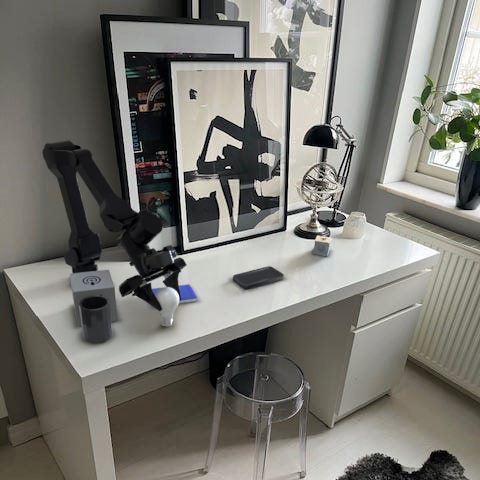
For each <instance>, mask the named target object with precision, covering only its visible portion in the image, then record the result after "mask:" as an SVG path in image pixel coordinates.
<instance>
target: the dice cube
mask: <svg viewBox="0 0 480 480" xmlns="http://www.w3.org/2000/svg"><path fill="white" fill-rule="evenodd" d="M331 242H332V237H329V236H323V235H319V234H318V235H316V237H315V240H314V244H313V245H314V246H313V251H312V252H313V253H312V254H313V255H315V256H316V255H317V256H321V257H328V256H329V254H330V250H331V244H332V243H331Z"/></svg>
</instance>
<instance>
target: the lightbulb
mask: <svg viewBox="0 0 480 480" xmlns="http://www.w3.org/2000/svg"><path fill="white" fill-rule="evenodd" d="M162 287H163V286H162ZM162 287H159V288H160V289H159V290H158V291H157V292H156V293H155V296H156V298H157V300H158V301H159V303H160V305H161V307H162V310H161V311H159V313H160V316H161V325H162V326H164V327H170V326H172V325H173V316H174V313H175V310H177V308H178V306H179V304H180V303H179V295H178V293H177V291H176V290H174V289H173V288H171V287H166V286H164V287H163V288H162Z"/></svg>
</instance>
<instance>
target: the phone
mask: <svg viewBox="0 0 480 480" xmlns="http://www.w3.org/2000/svg"><path fill="white" fill-rule="evenodd" d="M284 277H285V274H284V273H282V272H281V271H279V270H278V269H276V268H274V267H273V266H270V265H269V266H263V267H260V268H256V269H252V270H248V271H245V272H241V273H236V274H234V275H233V276H232V280H233V281H234V282H235V283H236V284H237V285H238V286H240V287H241V288H243V289H244V290H250V289H253V288H256V287H260V286H264V285H267V284H271V283H275V282H279V281H281V280H283V279H284Z"/></svg>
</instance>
